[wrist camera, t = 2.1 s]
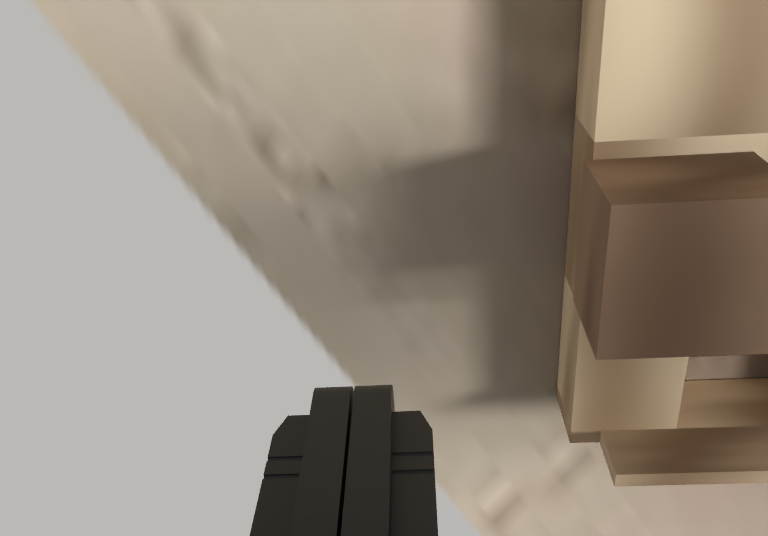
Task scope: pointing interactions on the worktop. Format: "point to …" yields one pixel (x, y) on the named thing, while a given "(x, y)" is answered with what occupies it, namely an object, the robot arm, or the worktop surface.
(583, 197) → the block
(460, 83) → the worktop surface
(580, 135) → the tray
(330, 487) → the robot arm
